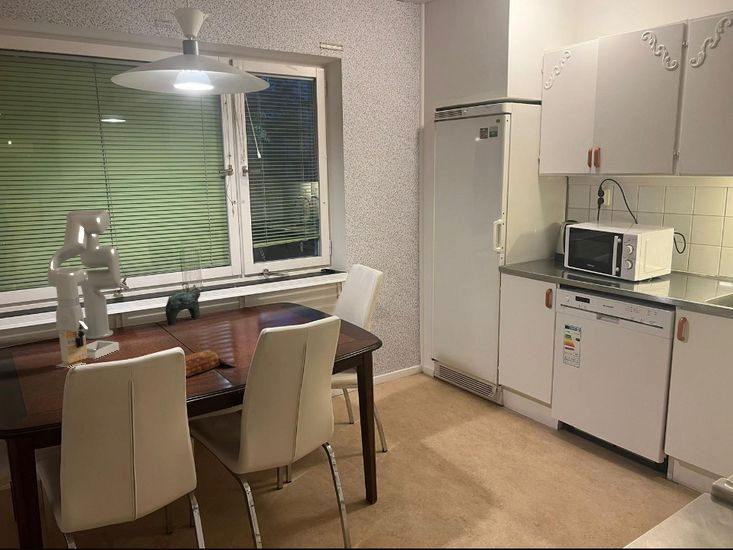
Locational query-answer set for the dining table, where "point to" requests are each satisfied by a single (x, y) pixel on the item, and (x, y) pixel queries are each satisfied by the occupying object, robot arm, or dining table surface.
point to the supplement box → (71, 347)
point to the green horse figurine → (183, 304)
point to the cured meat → (203, 362)
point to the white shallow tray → (101, 348)
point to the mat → (70, 364)
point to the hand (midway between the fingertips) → (73, 345)
